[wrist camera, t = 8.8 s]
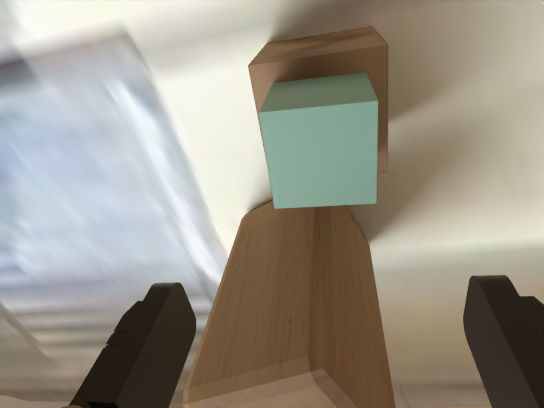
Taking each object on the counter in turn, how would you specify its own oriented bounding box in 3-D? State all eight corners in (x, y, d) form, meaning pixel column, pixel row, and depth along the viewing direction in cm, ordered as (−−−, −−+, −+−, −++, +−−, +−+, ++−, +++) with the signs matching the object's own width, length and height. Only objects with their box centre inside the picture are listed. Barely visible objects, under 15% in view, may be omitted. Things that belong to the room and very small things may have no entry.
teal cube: (366, 72, 21) (377, 100, 16) (366, 158, 23) (376, 203, 19) (272, 82, 22) (258, 112, 17) (283, 164, 24) (274, 208, 20)
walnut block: (372, 26, 26) (388, 44, 20) (373, 128, 30) (387, 172, 24) (266, 43, 28) (248, 65, 21) (281, 138, 32) (270, 182, 25)
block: (372, 244, 37) (410, 465, 20) (290, 275, 41) (267, 483, 24) (325, 169, 33) (325, 369, 16) (239, 212, 37) (169, 409, 20)
